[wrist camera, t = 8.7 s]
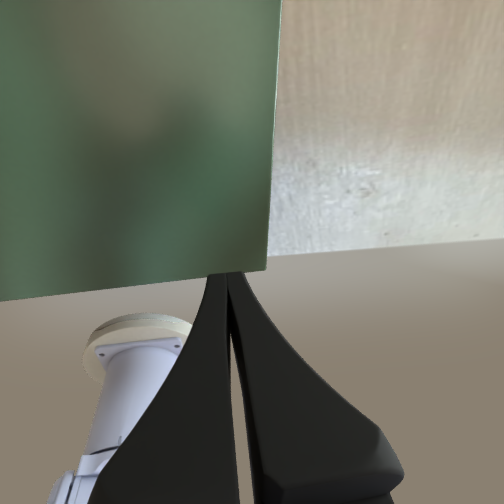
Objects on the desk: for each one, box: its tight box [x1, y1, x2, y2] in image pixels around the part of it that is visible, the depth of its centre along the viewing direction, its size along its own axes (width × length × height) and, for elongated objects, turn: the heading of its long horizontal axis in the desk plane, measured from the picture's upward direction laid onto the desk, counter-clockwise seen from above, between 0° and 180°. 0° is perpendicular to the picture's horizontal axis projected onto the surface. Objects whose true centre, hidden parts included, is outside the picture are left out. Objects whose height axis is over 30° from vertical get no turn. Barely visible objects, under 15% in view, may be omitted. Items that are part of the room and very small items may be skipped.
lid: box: [0, 0, 282, 302], centre depth 11 cm, size 14×13×1 cm
